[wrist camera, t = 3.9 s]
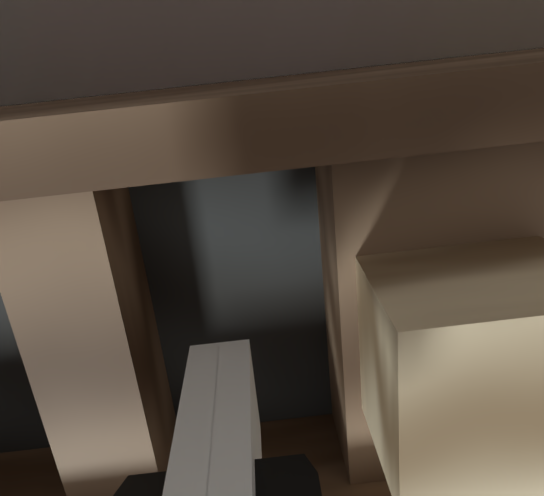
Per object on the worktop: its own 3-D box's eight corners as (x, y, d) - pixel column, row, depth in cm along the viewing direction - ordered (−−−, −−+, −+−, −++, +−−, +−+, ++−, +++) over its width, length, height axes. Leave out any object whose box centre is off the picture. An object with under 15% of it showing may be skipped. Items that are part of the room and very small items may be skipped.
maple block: (355, 256, 14) (397, 332, 10) (538, 235, 14) (648, 303, 10) (362, 408, 15) (399, 520, 12) (523, 388, 16) (613, 494, 12)
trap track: (-231, 131, 16) (-498, 175, 10) (796, 20, 16) (1094, 2, 10) (-72, 485, 21) (-189, 646, 15) (703, 393, 21) (869, 515, 15)
